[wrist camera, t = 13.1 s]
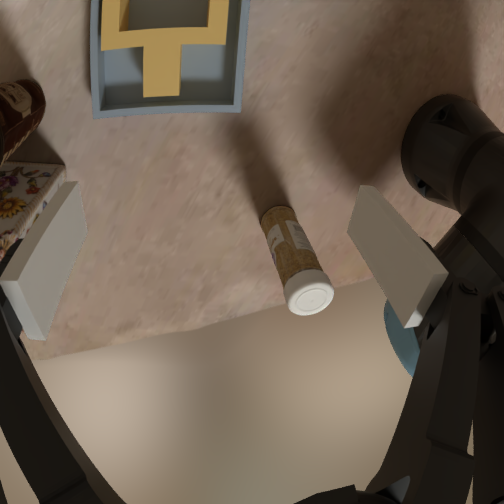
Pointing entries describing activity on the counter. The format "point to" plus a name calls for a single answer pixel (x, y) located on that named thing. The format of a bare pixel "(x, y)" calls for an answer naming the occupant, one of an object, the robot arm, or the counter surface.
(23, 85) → the coffee cup
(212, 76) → the tray
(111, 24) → the collar
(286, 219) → the sprinkles bottle
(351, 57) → the counter surface
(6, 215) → the decorative jar
